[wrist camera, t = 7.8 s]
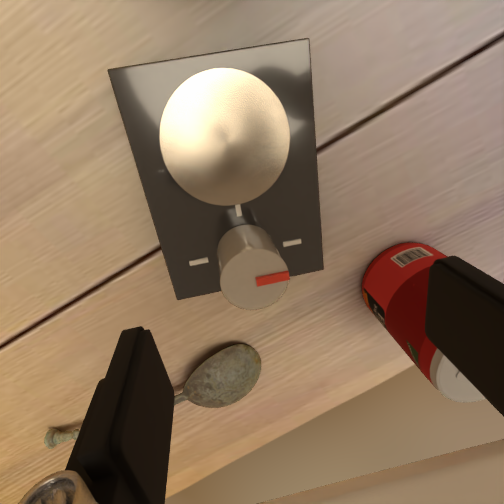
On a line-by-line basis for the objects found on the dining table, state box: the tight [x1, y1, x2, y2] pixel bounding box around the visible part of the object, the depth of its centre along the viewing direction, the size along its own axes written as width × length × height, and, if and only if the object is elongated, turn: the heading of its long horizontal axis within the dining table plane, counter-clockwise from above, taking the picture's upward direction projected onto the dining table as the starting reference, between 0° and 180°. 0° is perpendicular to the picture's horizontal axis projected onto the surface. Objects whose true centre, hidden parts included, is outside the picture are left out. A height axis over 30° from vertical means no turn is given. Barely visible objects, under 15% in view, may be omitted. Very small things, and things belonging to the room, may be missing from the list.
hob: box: [108, 38, 324, 300], centre depth 23 cm, size 17×12×3 cm
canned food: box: [362, 242, 486, 402], centre depth 25 cm, size 8×8×11 cm
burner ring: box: [159, 67, 290, 206], centre depth 21 cm, size 8×8×1 cm
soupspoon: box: [44, 344, 261, 449], centre depth 31 cm, size 22×3×7 cm
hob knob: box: [217, 225, 290, 310], centre depth 22 cm, size 4×4×5 cm
